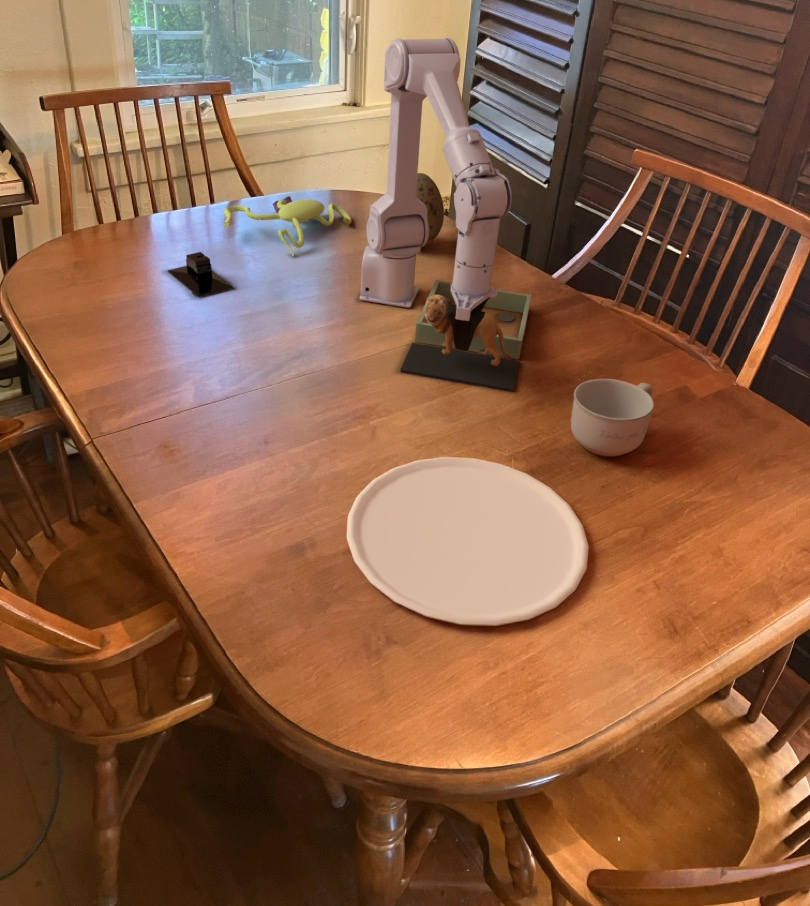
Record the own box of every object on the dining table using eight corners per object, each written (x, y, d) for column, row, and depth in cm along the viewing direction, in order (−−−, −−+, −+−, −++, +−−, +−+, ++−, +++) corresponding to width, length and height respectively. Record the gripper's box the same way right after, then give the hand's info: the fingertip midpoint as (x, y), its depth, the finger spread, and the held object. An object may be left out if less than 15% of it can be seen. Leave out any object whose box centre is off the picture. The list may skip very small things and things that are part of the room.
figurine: (211, 237, 163) (209, 210, 159) (292, 201, 181) (291, 177, 178) (284, 262, 156) (283, 234, 152) (360, 222, 174) (361, 197, 171)
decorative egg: (430, 260, 161) (437, 186, 152) (380, 250, 164) (384, 176, 154) (447, 242, 169) (454, 170, 160) (400, 232, 172) (404, 161, 163)
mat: (400, 372, 126) (400, 369, 126) (412, 345, 133) (412, 342, 133) (513, 391, 124) (513, 389, 124) (519, 363, 131) (519, 360, 131)
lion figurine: (416, 353, 125) (423, 299, 120) (422, 339, 130) (428, 286, 125) (510, 369, 124) (520, 315, 119) (512, 354, 128) (522, 302, 123)
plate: (404, 663, 82) (405, 655, 81) (313, 488, 102) (313, 481, 102) (636, 590, 92) (639, 583, 91) (511, 445, 113) (512, 438, 112)
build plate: (234, 289, 145) (232, 265, 143) (197, 299, 141) (195, 274, 139) (201, 263, 153) (199, 240, 150) (165, 272, 149) (163, 248, 146)
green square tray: (414, 341, 134) (416, 323, 132) (434, 297, 148) (435, 279, 146) (518, 359, 132) (522, 340, 130) (528, 312, 146) (531, 294, 144)
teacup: (595, 474, 109) (608, 426, 104) (549, 430, 116) (559, 384, 111) (672, 450, 114) (688, 403, 110) (623, 410, 122) (636, 365, 117)
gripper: (495, 284, 111) (483, 368, 119) (507, 245, 123) (495, 324, 131) (445, 276, 112) (436, 360, 120) (462, 238, 124) (452, 317, 132)
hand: (464, 341), depth 126 cm, fingers closed on lion figurine, 4 cm apart
